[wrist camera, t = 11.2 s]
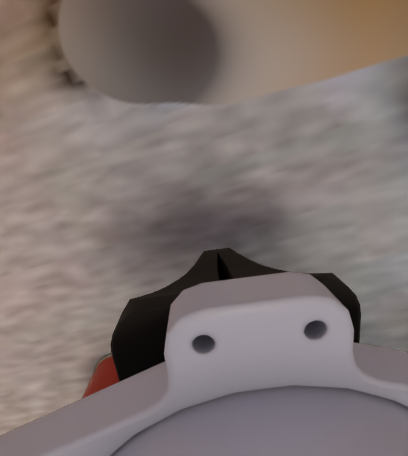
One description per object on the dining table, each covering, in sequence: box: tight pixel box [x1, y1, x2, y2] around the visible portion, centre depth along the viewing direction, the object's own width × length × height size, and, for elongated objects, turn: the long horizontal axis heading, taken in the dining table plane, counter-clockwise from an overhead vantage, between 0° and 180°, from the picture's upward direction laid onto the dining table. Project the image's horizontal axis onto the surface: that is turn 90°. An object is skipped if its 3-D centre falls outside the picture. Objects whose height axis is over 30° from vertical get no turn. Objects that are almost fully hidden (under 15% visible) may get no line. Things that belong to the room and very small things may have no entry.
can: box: [82, 353, 119, 398], centre depth 21 cm, size 5×5×6 cm
